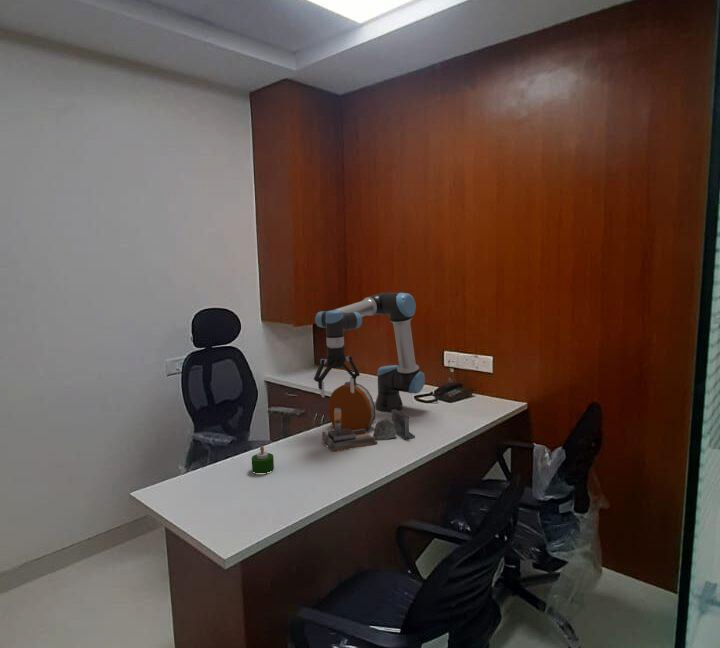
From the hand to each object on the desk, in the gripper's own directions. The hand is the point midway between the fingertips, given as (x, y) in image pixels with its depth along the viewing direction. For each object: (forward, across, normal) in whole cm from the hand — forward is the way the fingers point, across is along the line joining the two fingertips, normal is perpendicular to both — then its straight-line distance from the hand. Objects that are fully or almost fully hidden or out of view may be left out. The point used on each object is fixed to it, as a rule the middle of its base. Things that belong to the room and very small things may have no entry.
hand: (337, 394), depth 212 cm
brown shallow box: (+22, +4, 0) cm, 23 cm away
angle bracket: (+23, +31, 0) cm, 38 cm away
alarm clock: (+23, +13, +19) cm, 32 cm away
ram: (+21, +1, 0) cm, 21 cm away
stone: (+23, +22, 0) cm, 32 cm away
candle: (+22, -36, -14) cm, 45 cm away
